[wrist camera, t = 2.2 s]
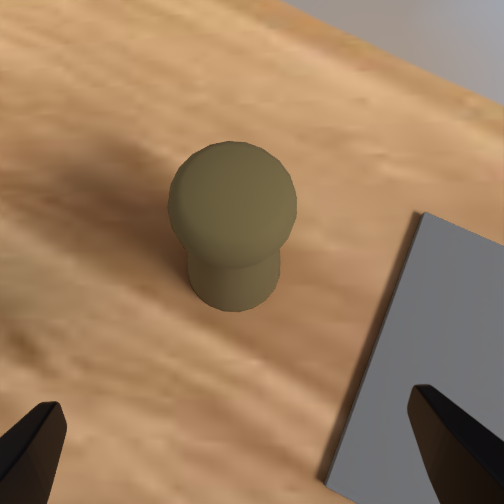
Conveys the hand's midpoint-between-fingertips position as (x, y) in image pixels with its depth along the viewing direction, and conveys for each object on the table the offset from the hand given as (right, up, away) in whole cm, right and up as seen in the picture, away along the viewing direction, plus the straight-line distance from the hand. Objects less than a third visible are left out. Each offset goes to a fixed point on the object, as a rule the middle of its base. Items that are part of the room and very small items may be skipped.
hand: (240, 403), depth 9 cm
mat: (+14, -4, +13) cm, 20 cm away
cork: (-1, +3, +15) cm, 15 cm away
